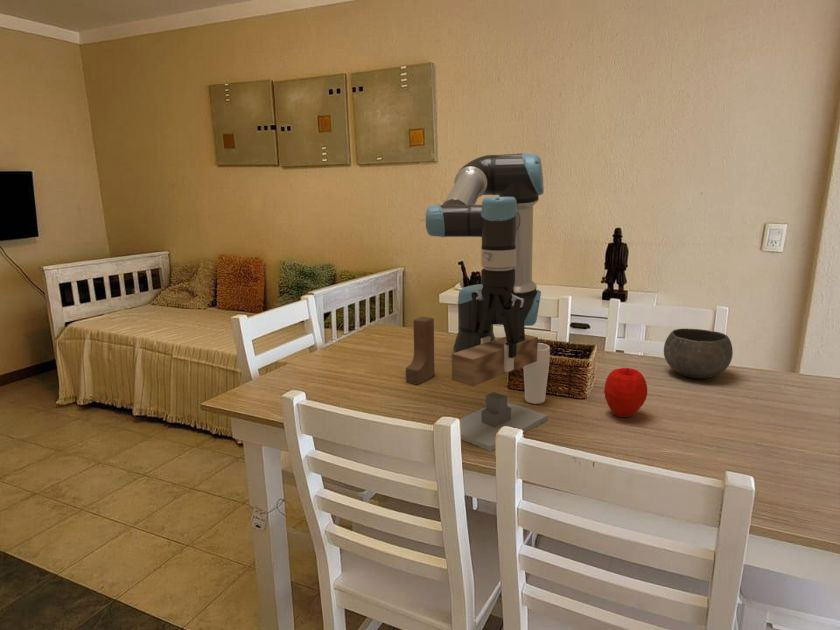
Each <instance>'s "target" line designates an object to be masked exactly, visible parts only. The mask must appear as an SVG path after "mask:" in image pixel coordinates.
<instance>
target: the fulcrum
mask: <svg viewBox="0 0 840 630" xmlns="http://www.w3.org/2000/svg"><path fill="white" fill-rule="evenodd" d="M548 417H549V416H548V415H547V414H545V413H541V412H538V411H535V410H533V409H529V408H527V407H523V406H520V405H516V404H514V403H511V402H508V396H507V395H505V394H501V393H498V392H496V391H493V392H490V393H488V394H485V407H483V408H481V409H479V410H476V411H474V412H472V413H469V414H468V415H466V416H463V417H461V418H459V419H460V422H461V438H462V439H461V441H464V442H467V443H469V444H471V443H472V445H474V446H476V445H477V446H476V447H478V446H479V447H478V448H481V449H483V448H484V449H483V450H485V449H486V450H485V451H488V452H492V451H494V450H495V437H496V433H497V432H498V430H499V429H500V428H501V427H503V426H510V427H513V428H518V429H522V430H523V431H524V433H523V434H525V433H527V432H528V431H530V430H532V429H534V428H535V427H537V426H539V425H541V424H543V423H544V422H546V421H548Z"/></svg>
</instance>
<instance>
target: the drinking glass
mask: <svg viewBox="0 0 840 630" xmlns="http://www.w3.org/2000/svg"><path fill="white" fill-rule="evenodd" d="M550 347H551V346H550V345H548V344H546V343H541V342H538V347H537V361H536V362H533V363H531V364H528V365H526V366H523V367H522V368H523V381H524V382H523V383H524V384H523V385H524V400H525V402H527V403H529V404H533V405H537V404H539V405H541V404H544V402H545V401H546V392H547V386H548V376H549V369H550V360H551V356H550V355H551V348H550Z"/></svg>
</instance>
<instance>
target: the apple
mask: <svg viewBox="0 0 840 630" xmlns="http://www.w3.org/2000/svg"><path fill="white" fill-rule="evenodd" d="M603 393H604V399H605V401H606V404H607V406H608V408H609V410H610V411H611V412H612V414H613V415H615V416H616V417H617V418H618V417H619V418H628V417H631V416H634V415H635V414H636V413H637V412H638V411H639V410H640V409H641V407H642V406H643V405H644V403H645V402H646V400H647V397H648V385H647V381H646V379H645V377H644V374H643V373H641V372H640V371H639V370H638V369H635V368H632V367H631V368H630V367H621V368H616V369H613V370H611V372H609V373H608V375H607V377H606V379H605V382H604V389H603Z"/></svg>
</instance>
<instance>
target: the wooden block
mask: <svg viewBox="0 0 840 630" xmlns="http://www.w3.org/2000/svg"><path fill="white" fill-rule="evenodd" d="M434 321H435V319H434V317H428V316H427V317H426V316H420V317H418V318H414V319H413V350H414V351H413V356H412V357H413V358H412V361H411V363H410V364H409V365H408V366H406V368H405V382H406V383H408V384H414V385H420V384H422V383H424V382H426V381H427V380H429V379H431V378H433V377H434V376H435V374H436V373H435V326H434V325H435V323H434Z"/></svg>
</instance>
